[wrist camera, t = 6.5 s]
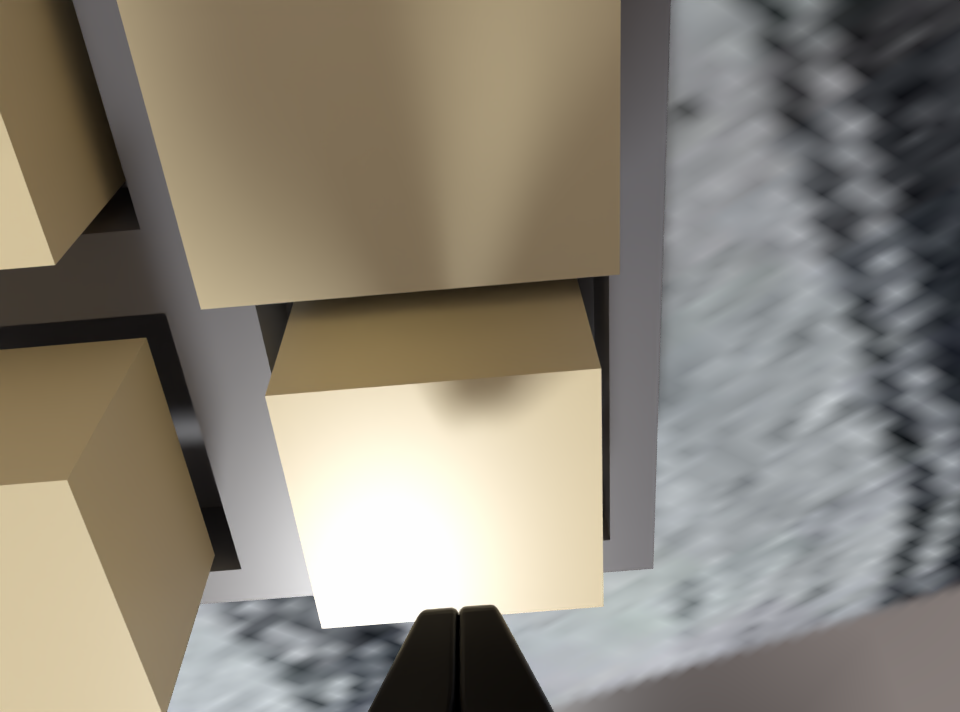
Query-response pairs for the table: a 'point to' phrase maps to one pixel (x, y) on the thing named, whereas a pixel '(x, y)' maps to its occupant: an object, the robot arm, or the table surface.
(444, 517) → the button
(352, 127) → the button
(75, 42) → the button
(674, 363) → the table surface
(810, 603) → the table surface
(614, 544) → the button board
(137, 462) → the button
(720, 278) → the table surface
